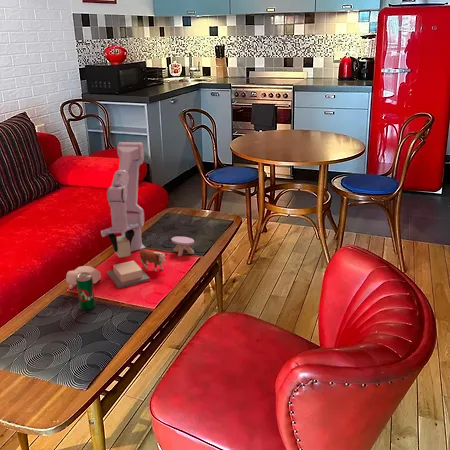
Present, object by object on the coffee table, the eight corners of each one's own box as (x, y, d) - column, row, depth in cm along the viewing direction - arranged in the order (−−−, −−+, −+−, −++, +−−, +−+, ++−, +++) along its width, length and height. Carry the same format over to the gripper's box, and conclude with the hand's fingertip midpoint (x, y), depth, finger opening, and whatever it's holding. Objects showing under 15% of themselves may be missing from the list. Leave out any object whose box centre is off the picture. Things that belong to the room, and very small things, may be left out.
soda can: (90, 301, 170) (86, 270, 165) (98, 307, 167) (94, 275, 162) (76, 307, 167) (72, 275, 162) (84, 312, 163) (80, 280, 159)
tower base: (107, 273, 189) (106, 264, 187) (137, 266, 194) (136, 257, 193) (118, 288, 178) (117, 278, 177) (149, 280, 184) (149, 270, 182)
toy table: (167, 253, 205) (166, 240, 203) (180, 245, 213) (179, 233, 210) (186, 259, 201) (186, 246, 198) (199, 250, 208) (199, 238, 206)
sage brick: (114, 251, 196) (112, 237, 194) (125, 249, 198) (123, 235, 196) (119, 257, 191) (118, 243, 189) (130, 255, 193) (129, 241, 191)
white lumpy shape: (82, 286, 186) (57, 290, 172) (84, 263, 186) (60, 266, 172) (102, 289, 184) (78, 294, 169) (104, 266, 183) (81, 269, 169)
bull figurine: (163, 276, 187) (162, 256, 184) (138, 266, 194) (136, 247, 191) (171, 271, 190) (170, 252, 187) (146, 262, 198) (145, 243, 195)
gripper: (103, 224, 182) (106, 257, 188) (141, 216, 189) (143, 249, 194) (97, 217, 188) (101, 250, 193) (134, 211, 195) (136, 242, 200)
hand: (122, 249), depth 194 cm, fingers closed on sage brick, 4 cm apart
